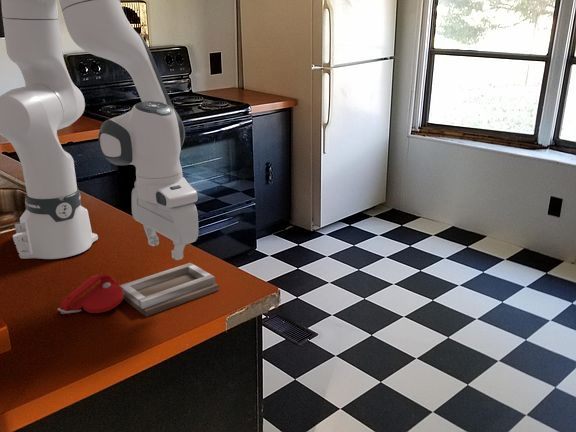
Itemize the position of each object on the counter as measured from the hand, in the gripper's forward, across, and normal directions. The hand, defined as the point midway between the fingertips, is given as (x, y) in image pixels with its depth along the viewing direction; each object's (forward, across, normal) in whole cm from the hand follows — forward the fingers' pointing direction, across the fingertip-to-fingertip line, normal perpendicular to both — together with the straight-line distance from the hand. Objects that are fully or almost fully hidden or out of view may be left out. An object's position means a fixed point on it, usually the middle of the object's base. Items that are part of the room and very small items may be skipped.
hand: (165, 251), depth 122 cm
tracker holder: (+8, -1, -18) cm, 19 cm away
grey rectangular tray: (+9, 0, 0) cm, 9 cm away
